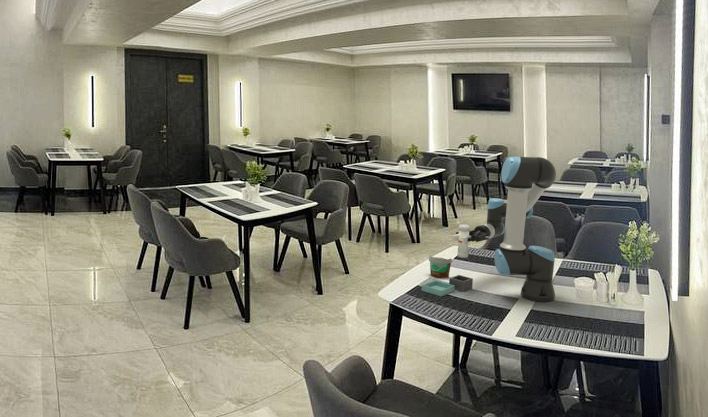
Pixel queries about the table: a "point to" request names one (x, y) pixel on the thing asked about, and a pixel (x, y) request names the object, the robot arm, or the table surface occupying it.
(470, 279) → the socket block
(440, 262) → the food container
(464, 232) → the fuse
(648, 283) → the table surface
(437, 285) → the parts tray
